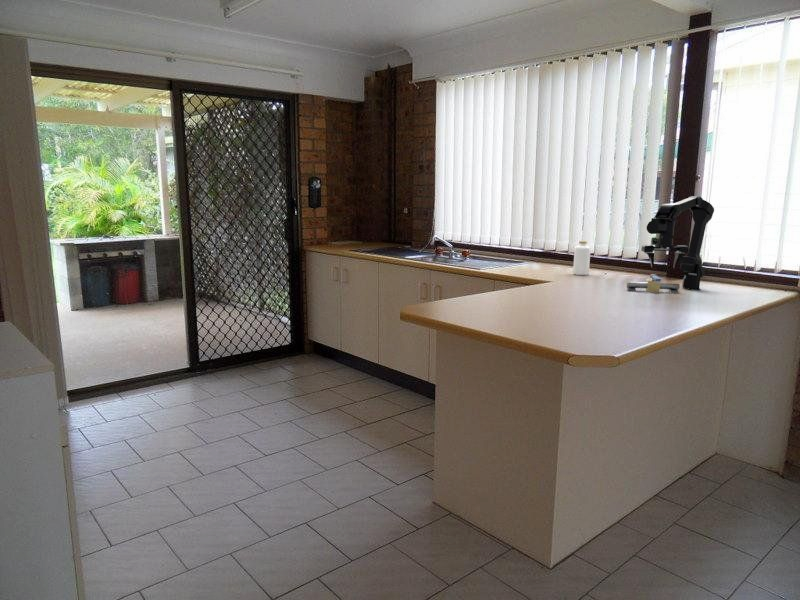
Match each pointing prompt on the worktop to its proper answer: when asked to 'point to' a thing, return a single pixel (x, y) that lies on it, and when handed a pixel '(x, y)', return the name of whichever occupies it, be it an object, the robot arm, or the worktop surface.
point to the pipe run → (653, 286)
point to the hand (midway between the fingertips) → (663, 268)
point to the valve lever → (655, 277)
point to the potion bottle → (581, 259)
